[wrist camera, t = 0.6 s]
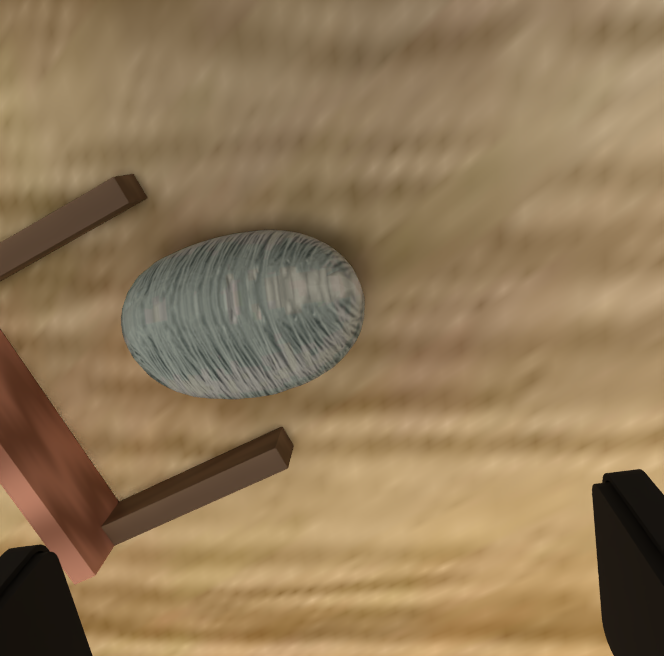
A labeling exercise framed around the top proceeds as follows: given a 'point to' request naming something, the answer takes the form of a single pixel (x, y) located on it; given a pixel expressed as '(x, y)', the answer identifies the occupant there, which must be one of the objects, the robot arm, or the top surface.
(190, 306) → the grey rounded piece
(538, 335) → the top surface
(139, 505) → the guide channel
